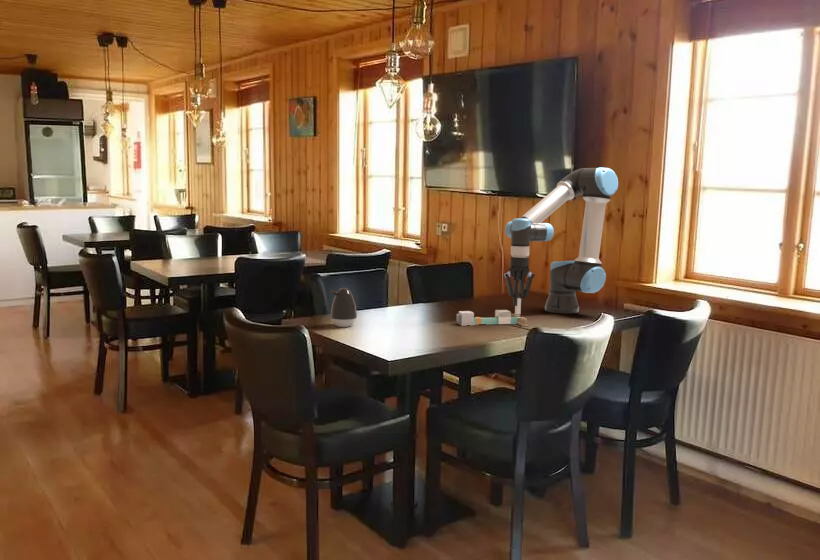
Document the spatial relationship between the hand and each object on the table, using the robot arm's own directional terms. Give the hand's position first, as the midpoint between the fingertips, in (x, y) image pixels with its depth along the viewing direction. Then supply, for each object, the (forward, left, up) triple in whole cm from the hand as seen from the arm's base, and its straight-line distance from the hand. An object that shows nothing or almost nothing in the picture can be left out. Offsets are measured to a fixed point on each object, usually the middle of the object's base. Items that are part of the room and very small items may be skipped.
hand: (517, 313), depth 292 cm
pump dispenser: (+71, -2, -4) cm, 71 cm away
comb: (-1, 0, -4) cm, 4 cm away
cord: (+12, 0, -4) cm, 13 cm away
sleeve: (+6, 0, -4) cm, 7 cm away
